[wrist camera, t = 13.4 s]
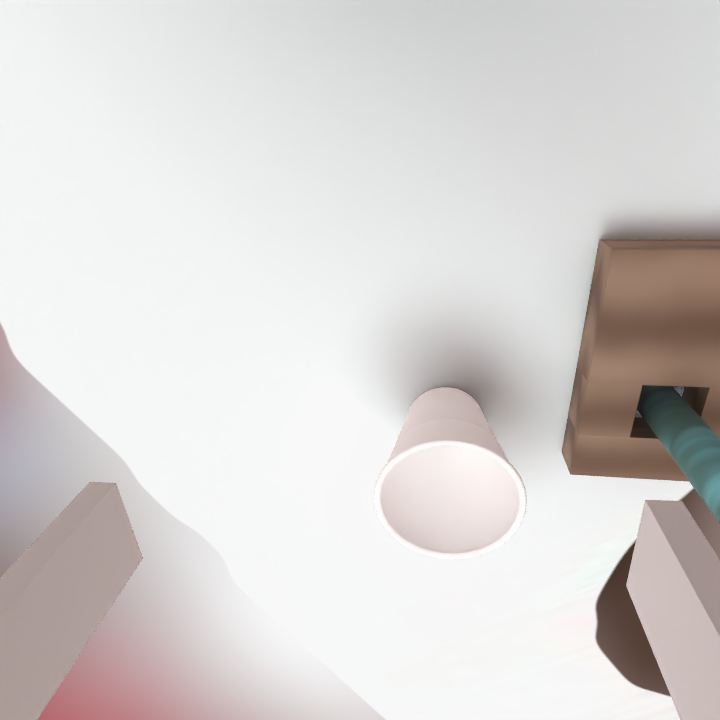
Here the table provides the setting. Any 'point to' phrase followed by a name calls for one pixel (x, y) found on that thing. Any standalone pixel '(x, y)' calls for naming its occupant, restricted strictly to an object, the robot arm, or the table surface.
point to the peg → (685, 440)
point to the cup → (449, 481)
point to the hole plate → (644, 353)
